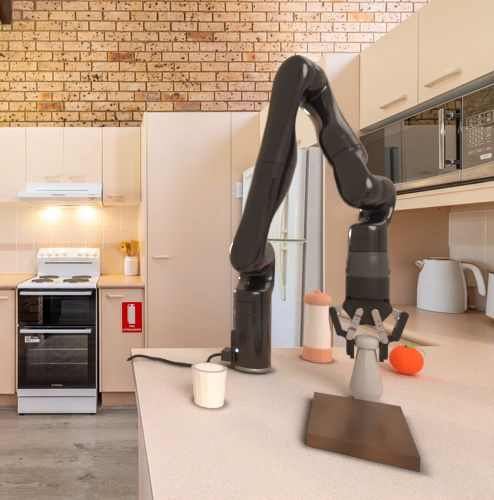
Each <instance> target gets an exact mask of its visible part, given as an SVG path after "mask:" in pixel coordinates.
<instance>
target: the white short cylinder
mask: <svg viewBox="0 0 494 500" xmlns="http://www.w3.org/2000/svg"><path fill="white" fill-rule="evenodd" d="M192 364H193V365H192V367H191V375H192V376H191V377H192V388H193V389H192V390H193V402H194V404H196V405H197V406H199V407H202V408H206V409H218V408H221V407H223V406H224V402H225V394H226V386H227V385H226V384H227V374H228V368H227V367H226V366H225V365H223V364H220V363H216V362H209V363H208V362H206V361H204V362H196V363H192Z"/></svg>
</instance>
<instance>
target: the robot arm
mask: <svg viewBox="0 0 494 500" xmlns="http://www.w3.org/2000/svg"><path fill="white" fill-rule="evenodd" d="M268 103H269V104H268V109H267V114H266V115H267V116H266V121H265V125H264V128H263V129H264V130H263V133H262V137H261V142H260V145H259V149H258V153H257V156H256V160H255V163H254V167H253V170H252V175H251V179H250V182H249V183H250V184H249V187H248V191H247V195H246V199H245V203H244V207H243V211H242V215H241V218H240V221H239V224H238V226H237V229H236V231H235V233H234V236H233V239H232V241H231V244H230V248H229V253H228V258H229V263H230V265H231V267H232V268H233V270H235V272H238V280H237V283H236V286H235V287H234V288H233V291H232V295H233V296H232V329H231V330H230V347H229V346H225V347H224V348H222V350H220V352H217V353H212V354H211V355H209V356H208V357H207V359H206V361H205V362H208V363H211V360H212V359H213V358H216V357H220V361H221V362H228V363H230V367H229V368H230V369H234V370H237V371H240V372H243V373H247V374H248V373H249V374H267V373H270V372H272V319H273V318H272V317H273V316H272V314H273V313H272V312H273V311H272V310H273V309H272V307H273V306H272V305H273V303H272V300H273V292H274V290H275V284H276V283H275V281H276V252H275V249H274V246H273V244H272V243H271V242H270V241H269V240H268V237H269V233H270V229H271V226H272V223H273V219H274V218H275V216H276V214H277V212H278V210H279V208H280V207H281V205H282V204H283V202H284V200H285V199H286V197H287V195H288V193H289V191H290V189H291V186H292V183H293V179H294V176H295V172H296V169H297V166H298V165H297V164H298V142H297V141H298V140H297V133H296V131H297V129H296V126H297V125H296V124H297V123H296V122H297V116H298V111H299V109H301V110H302V111H303V112H304V113H305V115H306V116H307V117H308V118H309V120H310V122H311V123H312V126H313V128H314V133H315V140H316V143H317V146H318V148H319V150H320V152H321V153H322V155H323V158H324V159H325V161H326V163H327V164H328V166H329V168H330V169H331V171H332V177H333V181H334V184H335V188H336V191H337V194H338V196H339V197H340V199H341V200H342V202H343V203H344V204H345V205H346V206H347V207H349V208H351V209H355V210H358V215H357V219H356V222H354V223H351V224H350V225H349V226H348V228H347V234H346V237H347V238H346V240H347V241H346V258H345V269H344V274H345V277H344V278H345V281H344V283H345V284H344V285H345V286H344V287H345V289H344V293H345V294H344V301H343V302H342V304H337V305H329V317H330V318H331V322H332V325H333V328H334V332H335V334H336V336H338V337H341V338H344V339H345V354H346V356H349V359H351V360H355V345H354V338H355V334H356V332H357V329H358V327H359V326H366V325H367V326H370V327H375V328H376V331H377V335H378V337H379V348H378V363H385V361H387V360H389V345H390V343H394V342H400V340H401V337H402V335H403V332H404V330H405V328H406V325H407V322H408V320H409V317H410V314H409V313H408V312H407V311H406V310H400V309H396V308H394V307H393V305H392V304H391V300H390V299H391V295H390V294H391V287H390V286H391V274H392V270H391V261H390V254H389V251H390V249H389V248H390V246H389V245H390V238H389V237H390V234H389V229H390V228H391V227H390V226H391V224H392V220H393V217H394V213H395V209H396V204H397V190H396V186H395V184H394V182H393V181H392V180H391V179H390V178H388V177H386V176H384V175H379V174H372V172H370V170H369V169H368V166H367V163H368V160H369V154H368V151H367V150H366V148H365V146H364V145H363V143H362V142H361V140H360V138H359V137H358V135H357V133H356V132H355V131H354V129H353V128H352V126H351V125H350V123H349V121H348V120H347V118H346V117H345V115H344V114H343V112H342V110H341V109H340V106H339V104H338V102H337V100H336V97H335V94H334V92H333V90H332V87H331V84H330V81H329V79H328V76H327V74H326V71H325V70H324V69H323V68H322V66H320V65H319V64H317V63H315V62H314V61H313V60H311V59H310V58H308V57H306V56H304V55H301V54H294V55H291V56H289V57H287V58H286V59H285V60H283V61H282V63H281V64H280V65H279V66H278V68H277V70H276V72H275V75H274V78H273V81H272V86H271V90H270V97H269V102H268ZM342 311H344V312H345V313H346V315H347V316H348V317H349V319H350V322H349V324H348V328H347V330H345V329H343V327H342V324H341V320H340V318H339V317H340V316H342ZM390 315H393V317H392V318H393V320H394V321H395V323H394V326H393V328H392V331H391V333H389V334H387V332H386V329H385V326H384V324H383V322H384V321H385V320H387V318H388V317H390ZM136 358H143V359H148V360H152V361H157V362H163V363H166V364H168V365H173V366H180V367H187V368H192V365H193V364H194V363H187V362H181V361H173V360H170V359H166V358H162V357H158V356H157V357H156V356H151V355H146V354H141V353H139V354H133V355H131V356H129V357H128V358H127V359H126V362H131V361H132V360H134V359H136Z"/></svg>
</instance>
